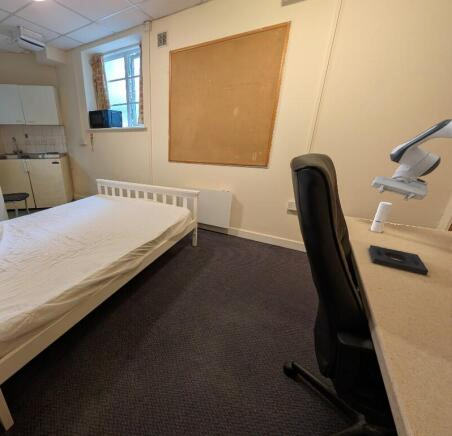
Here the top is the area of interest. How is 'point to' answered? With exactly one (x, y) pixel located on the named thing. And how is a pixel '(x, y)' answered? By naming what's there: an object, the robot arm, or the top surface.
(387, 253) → the base pad
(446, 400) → the top surface
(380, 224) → the tube
